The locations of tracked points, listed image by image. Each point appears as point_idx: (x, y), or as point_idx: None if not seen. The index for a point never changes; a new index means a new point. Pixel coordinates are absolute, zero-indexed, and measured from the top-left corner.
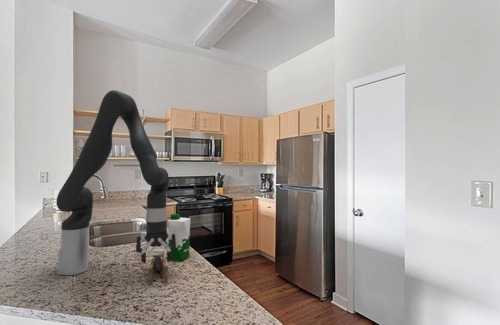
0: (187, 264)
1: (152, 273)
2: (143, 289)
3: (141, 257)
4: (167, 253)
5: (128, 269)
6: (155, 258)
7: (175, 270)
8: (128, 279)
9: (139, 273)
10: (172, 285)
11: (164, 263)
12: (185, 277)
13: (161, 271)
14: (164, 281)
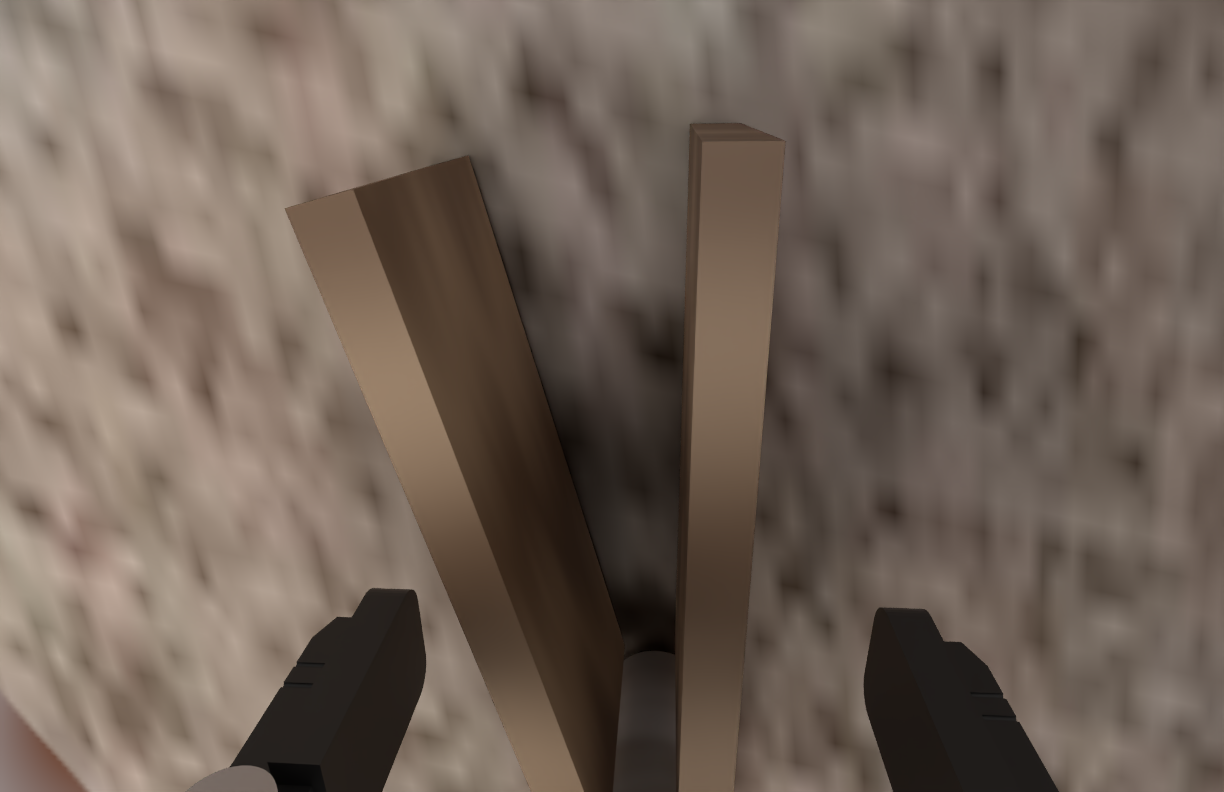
0: None
1: (689, 315)
2: (811, 10)
3: (1022, 732)
4: (321, 731)
5: (1056, 782)
6: (678, 782)
7: None
8: (1063, 469)
9: None
10: (334, 74)
11: (423, 446)
12: (197, 345)
13: (562, 509)
14: (474, 192)
